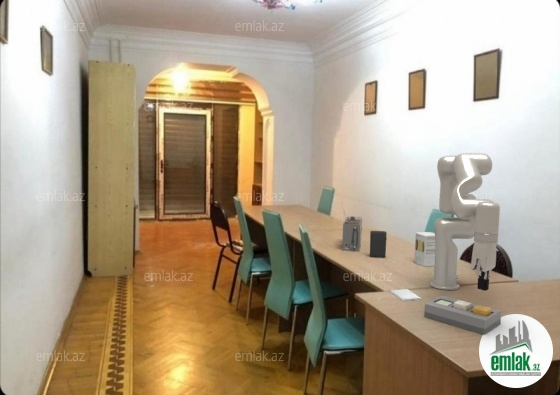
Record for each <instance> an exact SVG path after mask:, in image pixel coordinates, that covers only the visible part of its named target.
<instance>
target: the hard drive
mask: <svg viewBox="0 0 560 395" xmlns="http://www.w3.org/2000/svg"><path fill="white" fill-rule="evenodd" d="M389 292H390V293H391V294H392V295H394V296H395V297H396V298H398V300H400V301H401V302H422V301H423V298H422V297H420V296H419V295H417V294H415V293H414V292H413V291H411V290H409V289H407V288H401V289H391V290H390V291H389Z"/></svg>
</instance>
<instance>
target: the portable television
mask: <svg viewBox="0 0 560 395" xmlns="http://www.w3.org/2000/svg"><path fill="white" fill-rule="evenodd" d="M341 205H342V210H343V215H344V218H345V219H344V222H343V223H342V251H345V252H360V251H361V246H362V245H361V244H362V229H363V227H362V226H363V218H362V216H346V212H345V209H344V206H343V203H341Z"/></svg>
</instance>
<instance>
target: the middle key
mask: <svg viewBox="0 0 560 395" xmlns="http://www.w3.org/2000/svg"><path fill="white" fill-rule="evenodd" d="M461 300H462V299H458V301H456V302H454V304H453V308H457V309H461V310H464V311H468V310H470V309H471V306H472V303H473V302H470V303H469V301H466V302H465V300H462V301H461Z"/></svg>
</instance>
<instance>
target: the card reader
mask: <svg viewBox="0 0 560 395" xmlns="http://www.w3.org/2000/svg"><path fill="white" fill-rule="evenodd" d="M369 233H370V235H369V239H370V240H369V257H372V258H382V259H383V258H386V253H387V252H386V250H387V240H388V239H387V231H384V230H370V232H369Z"/></svg>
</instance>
